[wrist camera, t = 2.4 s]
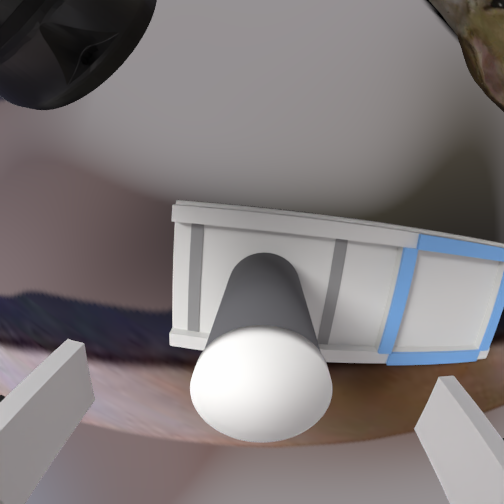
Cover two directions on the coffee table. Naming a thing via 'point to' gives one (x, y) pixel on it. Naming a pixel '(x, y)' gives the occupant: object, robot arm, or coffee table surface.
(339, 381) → the coffee table surface
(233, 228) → the white divided tray
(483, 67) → the ceramic sculpture
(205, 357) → the grey and white cylinder
